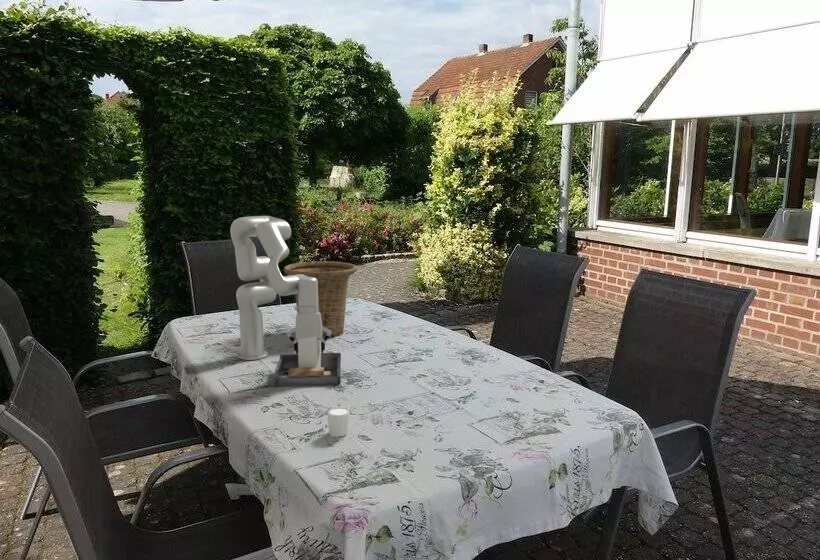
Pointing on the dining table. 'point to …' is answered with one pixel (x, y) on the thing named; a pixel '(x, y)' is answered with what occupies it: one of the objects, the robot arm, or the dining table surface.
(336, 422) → the white cylinder
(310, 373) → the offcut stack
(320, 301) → the wicker basket
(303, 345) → the milk carton
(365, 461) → the dining table surface
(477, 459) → the dining table surface
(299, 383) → the dark grey tray
